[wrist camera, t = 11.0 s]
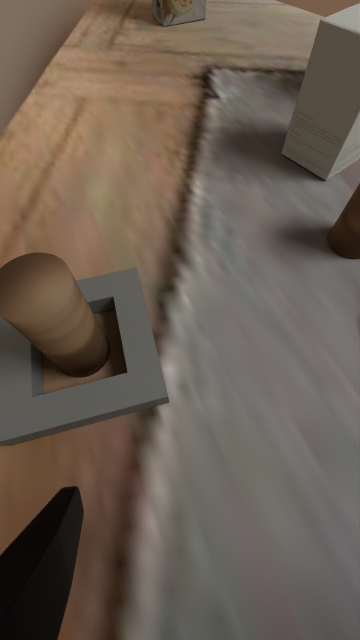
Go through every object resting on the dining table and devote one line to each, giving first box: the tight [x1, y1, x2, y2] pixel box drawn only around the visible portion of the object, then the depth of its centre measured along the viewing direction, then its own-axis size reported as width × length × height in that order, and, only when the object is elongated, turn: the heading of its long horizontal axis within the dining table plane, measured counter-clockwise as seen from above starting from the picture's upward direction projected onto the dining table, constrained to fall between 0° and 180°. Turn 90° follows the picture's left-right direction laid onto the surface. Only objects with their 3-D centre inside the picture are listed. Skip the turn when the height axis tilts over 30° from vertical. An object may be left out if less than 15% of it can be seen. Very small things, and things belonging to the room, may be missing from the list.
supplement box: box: [282, 3, 360, 180], centre depth 31 cm, size 7×7×13 cm
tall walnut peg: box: [0, 253, 110, 377], centre depth 20 cm, size 4×4×10 cm
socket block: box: [0, 268, 169, 446], centre depth 24 cm, size 12×12×2 cm
